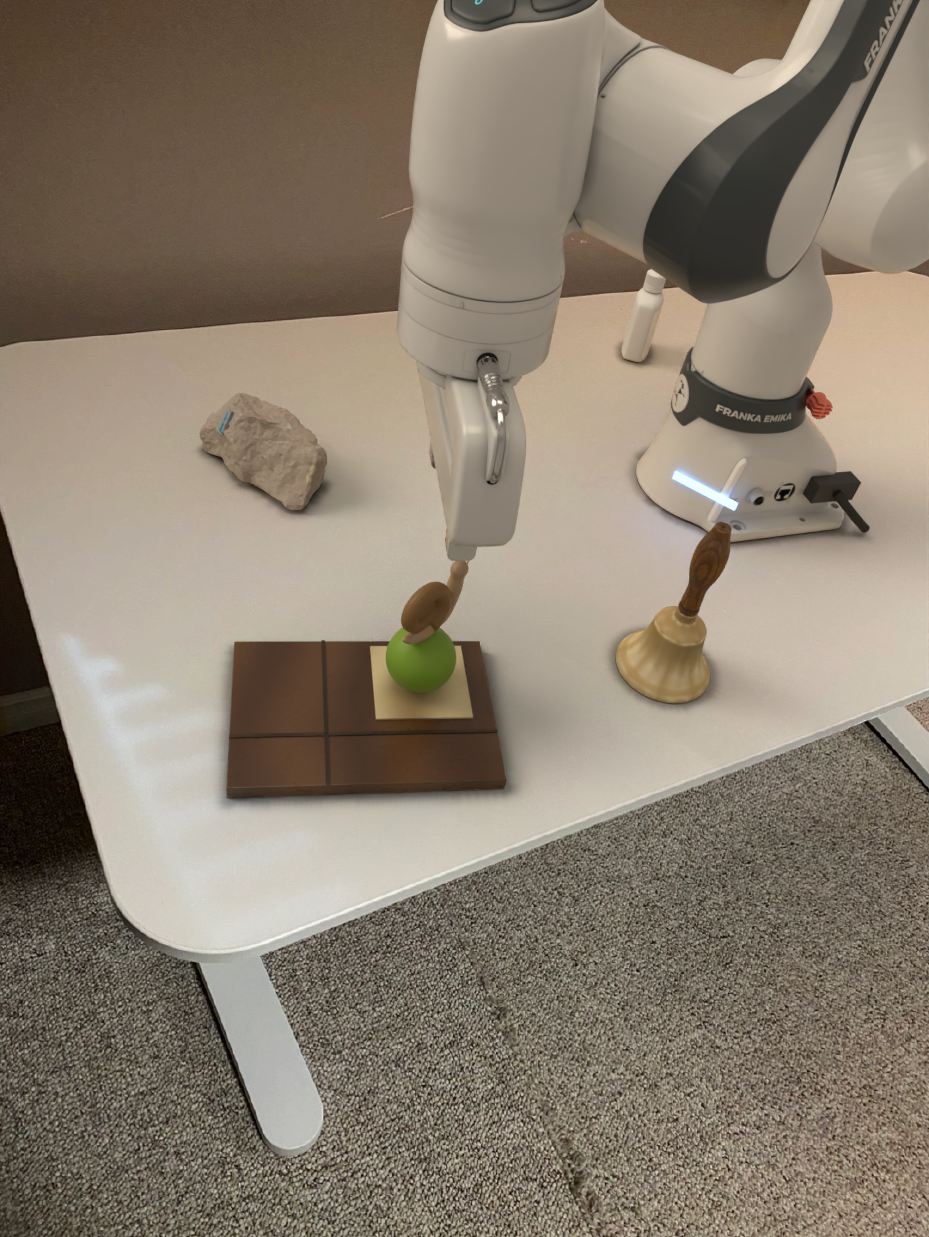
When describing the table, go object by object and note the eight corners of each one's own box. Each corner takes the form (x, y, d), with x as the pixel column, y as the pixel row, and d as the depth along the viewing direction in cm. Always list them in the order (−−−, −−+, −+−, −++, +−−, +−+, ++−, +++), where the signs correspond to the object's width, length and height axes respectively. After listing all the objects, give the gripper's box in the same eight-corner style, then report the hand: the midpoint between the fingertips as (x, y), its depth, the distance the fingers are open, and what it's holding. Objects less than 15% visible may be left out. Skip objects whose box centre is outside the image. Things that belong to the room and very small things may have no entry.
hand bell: (724, 700, 79) (797, 559, 67) (633, 707, 77) (693, 564, 65) (688, 629, 84) (750, 488, 73) (602, 634, 82) (653, 490, 71)
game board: (477, 650, 79) (480, 639, 78) (504, 789, 69) (507, 778, 68) (235, 651, 75) (234, 639, 74) (227, 798, 65) (226, 786, 64)
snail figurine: (473, 676, 75) (497, 565, 66) (418, 718, 71) (437, 606, 62) (424, 639, 77) (441, 527, 68) (368, 678, 73) (380, 565, 65)
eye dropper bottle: (660, 354, 120) (688, 264, 112) (634, 366, 117) (660, 274, 109) (634, 339, 122) (660, 250, 114) (607, 350, 119) (632, 259, 111)
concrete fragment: (283, 521, 87) (283, 468, 83) (193, 449, 93) (188, 397, 89) (340, 492, 91) (343, 441, 87) (250, 426, 97) (248, 374, 93)
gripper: (569, 420, 46) (523, 617, 55) (503, 238, 60) (475, 420, 69) (442, 417, 44) (418, 618, 54) (405, 232, 58) (391, 418, 68)
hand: (450, 506), depth 62 cm, fingers open, 8 cm apart
